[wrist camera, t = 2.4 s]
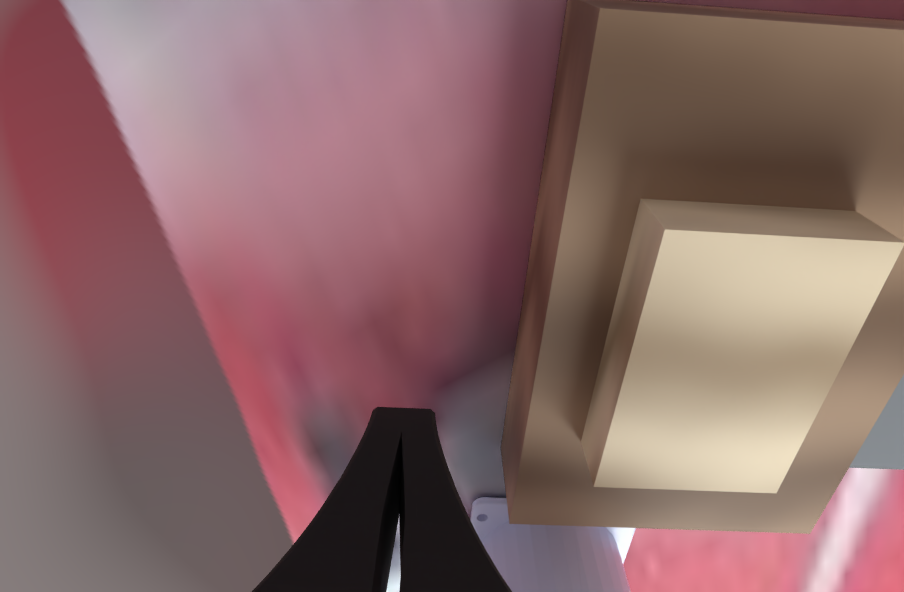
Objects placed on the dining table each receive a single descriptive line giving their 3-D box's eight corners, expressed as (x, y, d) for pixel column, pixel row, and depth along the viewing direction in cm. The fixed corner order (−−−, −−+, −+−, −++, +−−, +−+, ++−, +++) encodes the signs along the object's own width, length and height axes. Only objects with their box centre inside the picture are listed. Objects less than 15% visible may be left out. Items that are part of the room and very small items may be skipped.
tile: (748, 448, 21) (776, 493, 19) (580, 441, 20) (593, 487, 19) (855, 211, 16) (905, 242, 14) (640, 198, 16) (664, 229, 14)
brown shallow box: (762, 457, 26) (810, 533, 23) (500, 447, 26) (509, 523, 22) (967, 24, 17) (1098, 43, 14) (567, -5, 17) (600, 8, 13)
